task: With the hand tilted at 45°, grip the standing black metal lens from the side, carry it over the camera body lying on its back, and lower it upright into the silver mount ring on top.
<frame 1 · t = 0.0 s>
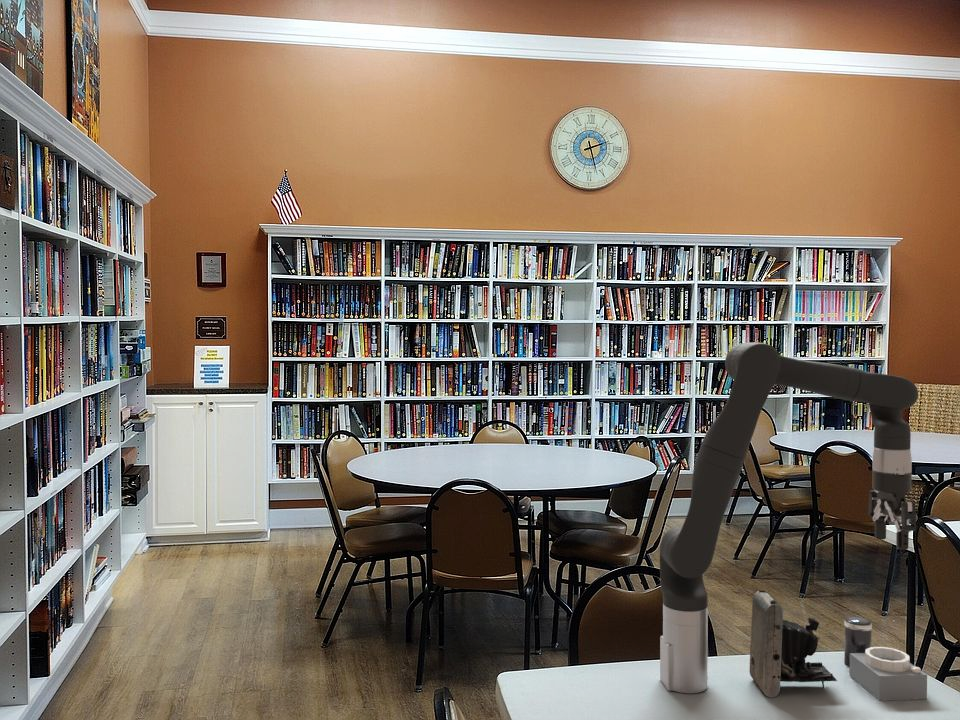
hand: (891, 544, 176), 29 cm above the table, fingers open, 8 cm apart
lens: (857, 664, 185), on the table
camera body: (886, 687, 173), on the table
vintage camera: (792, 689, 173), on the table
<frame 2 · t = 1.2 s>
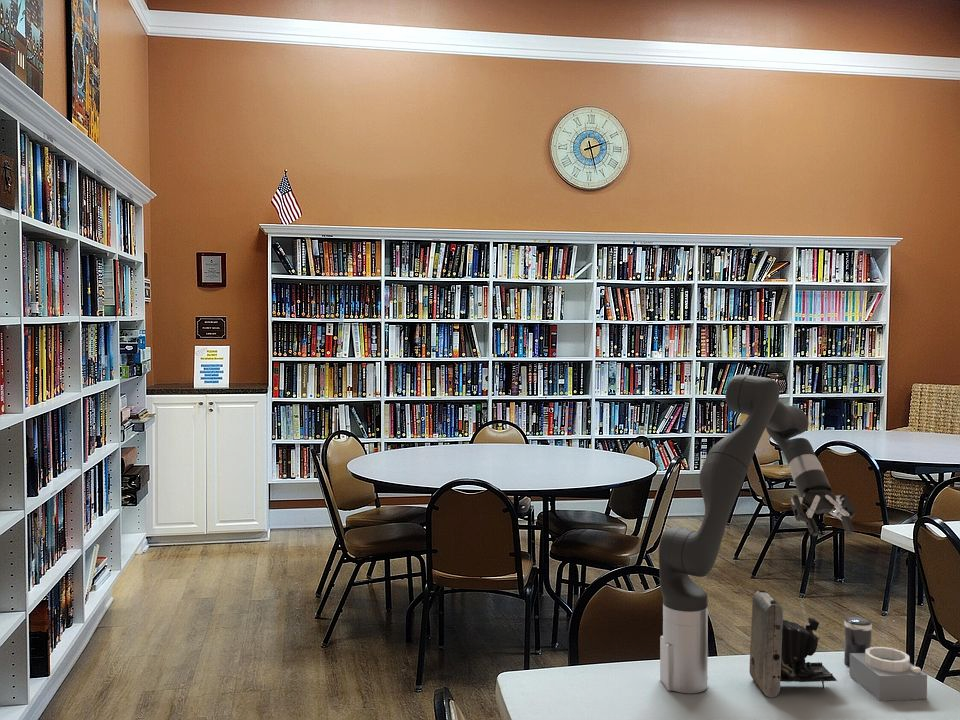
hand: (833, 533, 194), 27 cm above the table, fingers open, 8 cm apart
nothing on the table moved.
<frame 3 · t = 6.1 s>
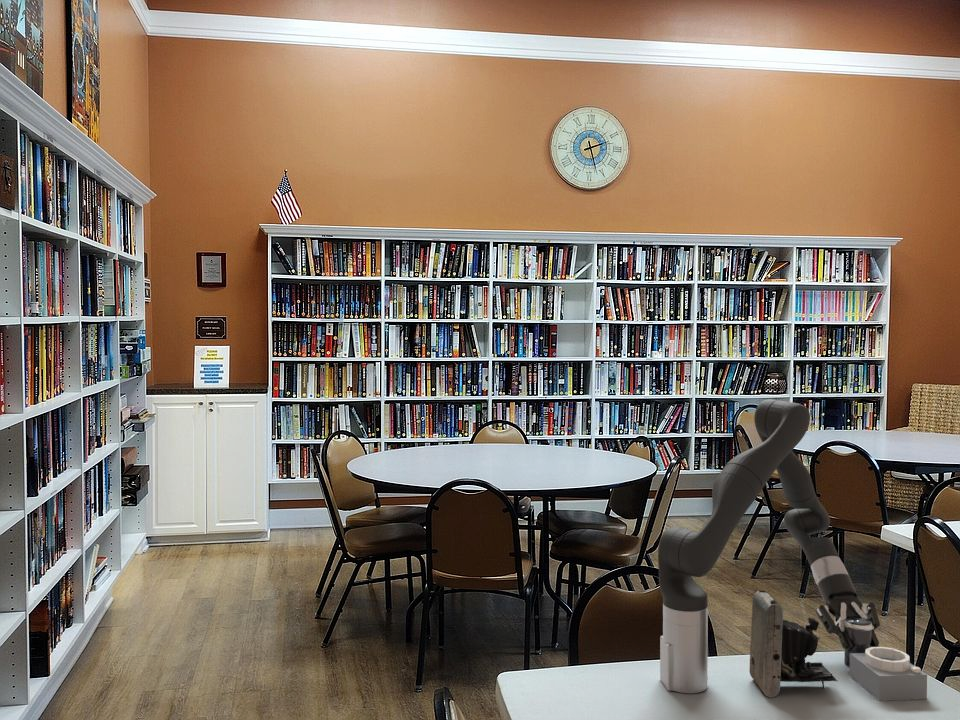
hand: (862, 648, 183), 4 cm above the table, fingers closed on lens, 5 cm apart
lens: (857, 664, 185), on the table, touching gripper
everything else where it was.
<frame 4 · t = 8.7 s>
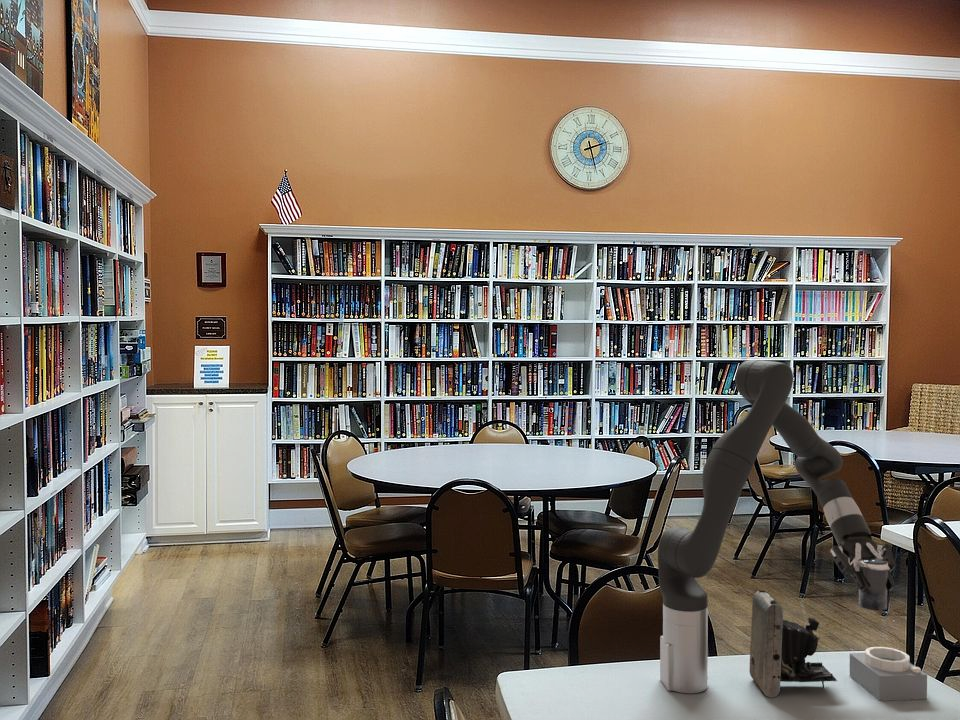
hand: (878, 589, 176), 20 cm above the table, fingers closed on lens, 5 cm apart
lens: (872, 606, 178), point 15 cm above the table, touching gripper
everything else where it was.
when the fingers open (10 cm above the table, at t = 11.5 s): lens stays where it is, resting on camera body.
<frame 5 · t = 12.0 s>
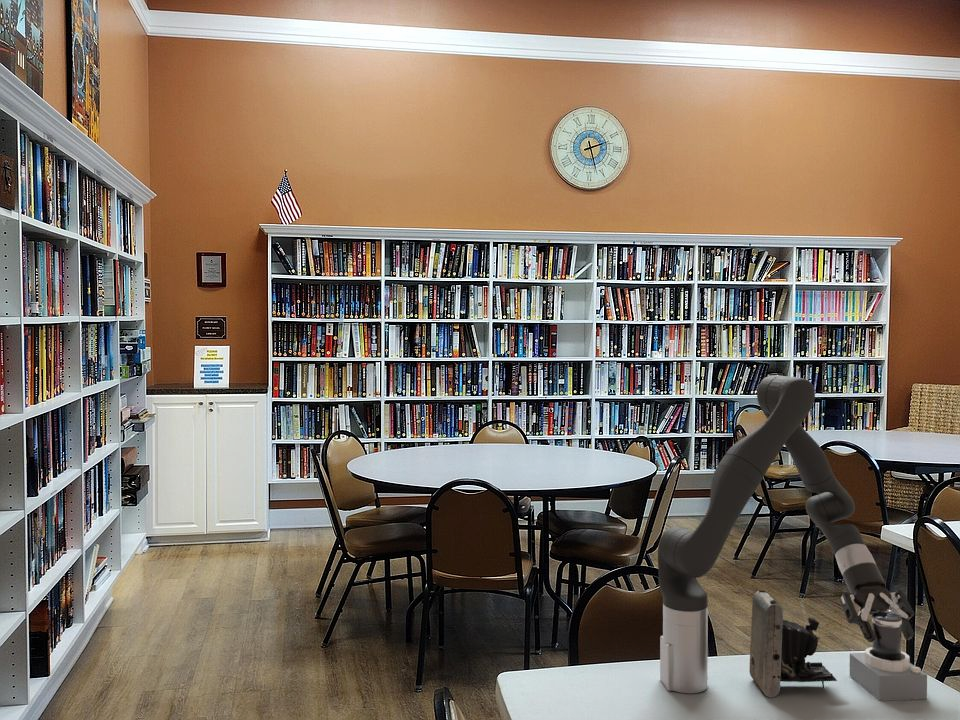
hand: (891, 639, 171), 11 cm above the table, fingers open, 8 cm apart
lens: (886, 663, 173), point 5 cm above the table, touching camera body
everything else where it was.
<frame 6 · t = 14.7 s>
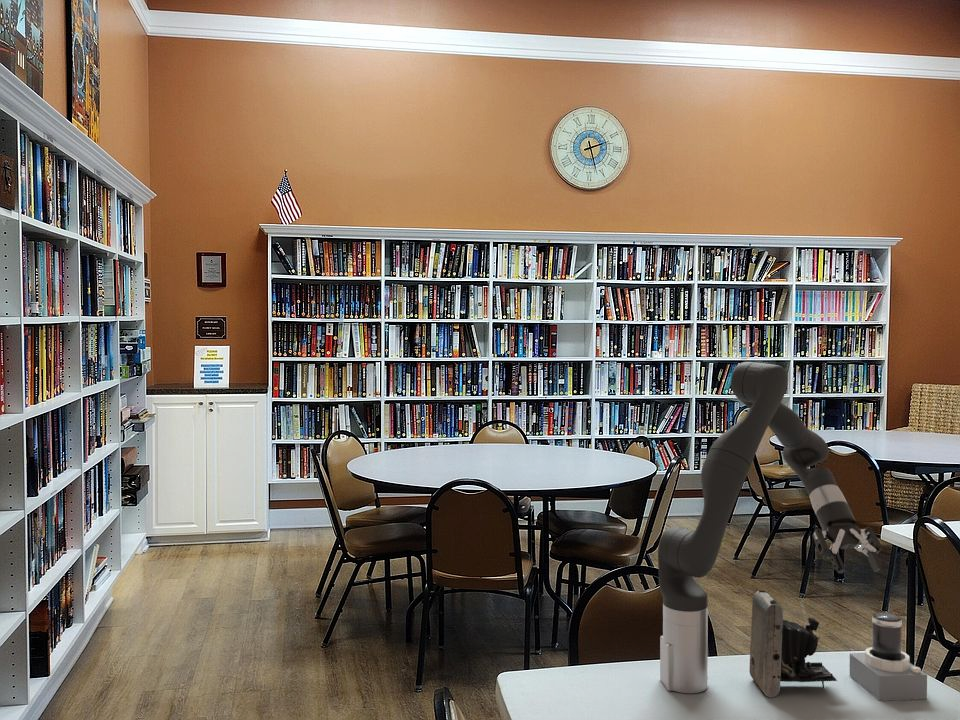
hand: (860, 570, 182), 22 cm above the table, fingers open, 8 cm apart
nothing on the table moved.
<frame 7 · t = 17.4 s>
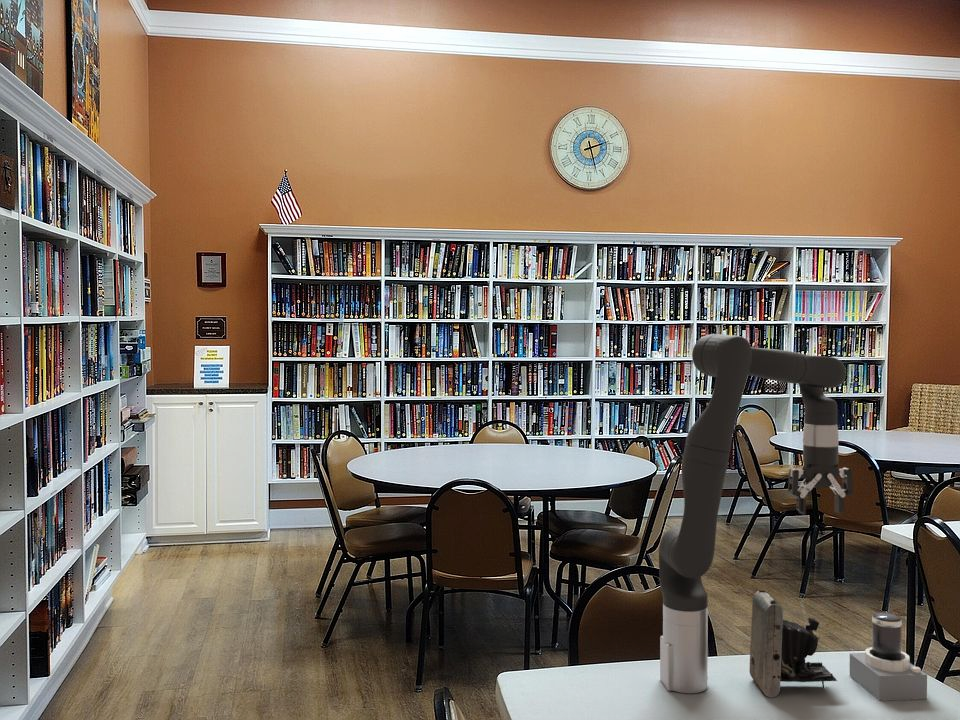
hand: (820, 513, 189), 33 cm above the table, fingers open, 8 cm apart
nothing on the table moved.
at the end: lens 0.1 cm off-centre on the camera body, point 5.0 cm above the camera body's base; lens tilted 0°; the gripper is holding nothing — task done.
